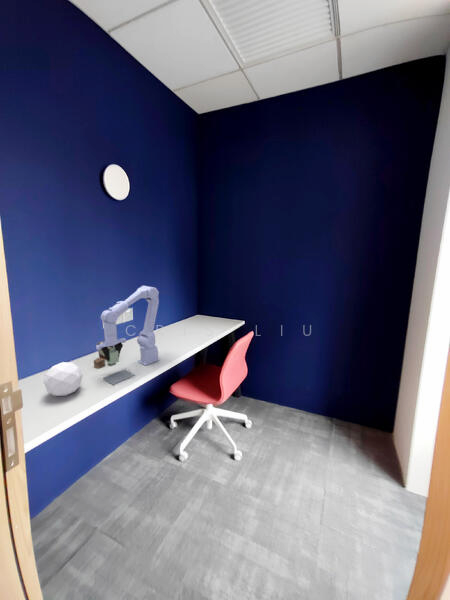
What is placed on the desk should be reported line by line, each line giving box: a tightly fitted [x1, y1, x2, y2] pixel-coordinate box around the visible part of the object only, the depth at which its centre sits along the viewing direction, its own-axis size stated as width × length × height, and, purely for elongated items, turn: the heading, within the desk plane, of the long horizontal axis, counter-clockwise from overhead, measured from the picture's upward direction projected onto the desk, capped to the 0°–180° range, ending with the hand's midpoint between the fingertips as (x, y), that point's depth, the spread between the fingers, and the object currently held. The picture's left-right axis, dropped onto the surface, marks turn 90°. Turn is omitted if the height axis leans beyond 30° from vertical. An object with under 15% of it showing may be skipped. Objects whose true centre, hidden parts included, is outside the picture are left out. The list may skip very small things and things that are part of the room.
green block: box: [106, 349, 120, 365], centre depth 131 cm, size 4×4×6 cm
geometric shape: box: [43, 361, 83, 397], centre depth 114 cm, size 14×15×15 cm
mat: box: [102, 368, 136, 386], centre depth 130 cm, size 12×10×1 cm
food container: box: [96, 340, 115, 361], centre depth 151 cm, size 12×6×10 cm, turn 74°
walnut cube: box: [93, 357, 106, 370], centre depth 141 cm, size 4×4×4 cm
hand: (112, 358), depth 131 cm, fingers closed on green block, 4 cm apart
